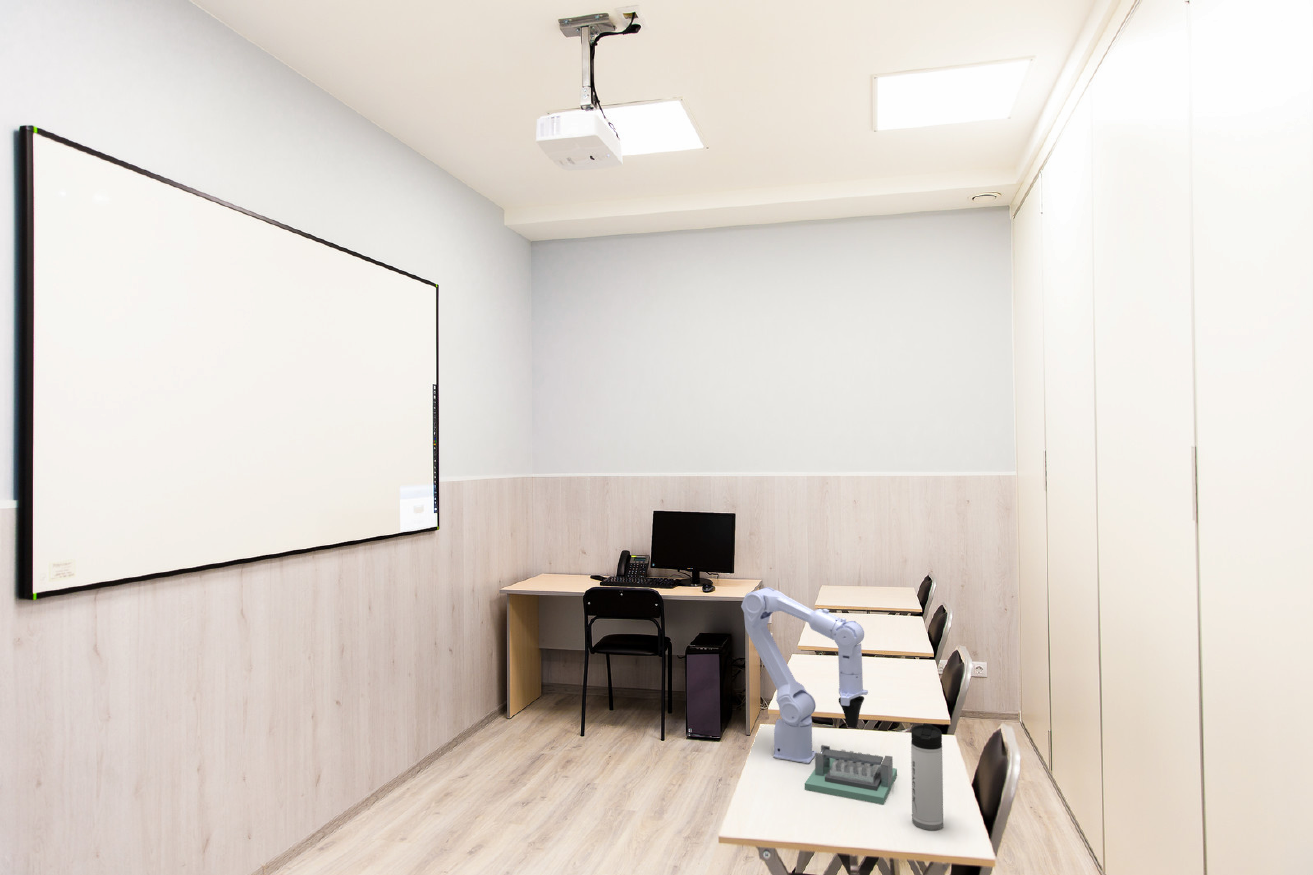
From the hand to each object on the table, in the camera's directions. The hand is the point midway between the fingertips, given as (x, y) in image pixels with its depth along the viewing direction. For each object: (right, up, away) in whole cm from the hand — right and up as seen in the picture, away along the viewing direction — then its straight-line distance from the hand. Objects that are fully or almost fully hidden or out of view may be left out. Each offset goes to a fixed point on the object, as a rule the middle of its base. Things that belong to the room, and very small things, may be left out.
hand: (852, 726), depth 194 cm
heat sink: (-2, -9, -8) cm, 12 cm away
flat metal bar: (-2, -5, -8) cm, 9 cm away
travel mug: (+9, -10, -29) cm, 32 cm away
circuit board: (-2, -10, -8) cm, 13 cm away
